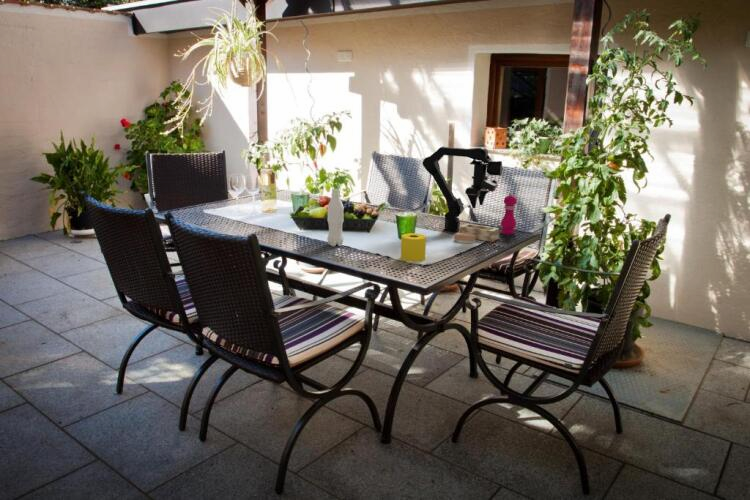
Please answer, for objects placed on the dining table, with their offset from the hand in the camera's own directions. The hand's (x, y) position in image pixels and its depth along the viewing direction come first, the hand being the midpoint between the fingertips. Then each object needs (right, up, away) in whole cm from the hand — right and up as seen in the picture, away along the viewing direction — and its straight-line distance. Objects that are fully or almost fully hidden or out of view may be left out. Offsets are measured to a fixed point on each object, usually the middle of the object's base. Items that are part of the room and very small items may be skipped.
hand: (477, 206), depth 294 cm
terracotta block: (-8, -16, -12) cm, 22 cm away
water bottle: (-67, -19, -24) cm, 73 cm away
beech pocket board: (0, -15, -5) cm, 16 cm away
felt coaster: (-7, -17, -12) cm, 22 cm away
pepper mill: (+16, -13, +5) cm, 21 cm away
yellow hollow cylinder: (-34, -25, -41) cm, 59 cm away
